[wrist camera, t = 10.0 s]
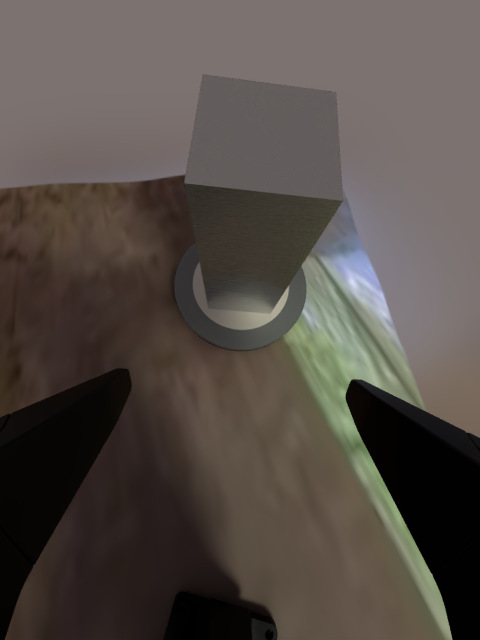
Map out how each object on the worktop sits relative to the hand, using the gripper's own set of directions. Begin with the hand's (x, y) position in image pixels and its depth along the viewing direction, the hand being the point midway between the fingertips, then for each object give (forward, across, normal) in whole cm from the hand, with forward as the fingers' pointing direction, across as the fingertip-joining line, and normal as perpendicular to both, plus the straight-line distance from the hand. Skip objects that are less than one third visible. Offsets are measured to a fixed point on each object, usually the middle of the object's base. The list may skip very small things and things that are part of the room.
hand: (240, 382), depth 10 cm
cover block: (+12, 0, 0) cm, 12 cm away
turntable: (+12, 0, -1) cm, 12 cm away
